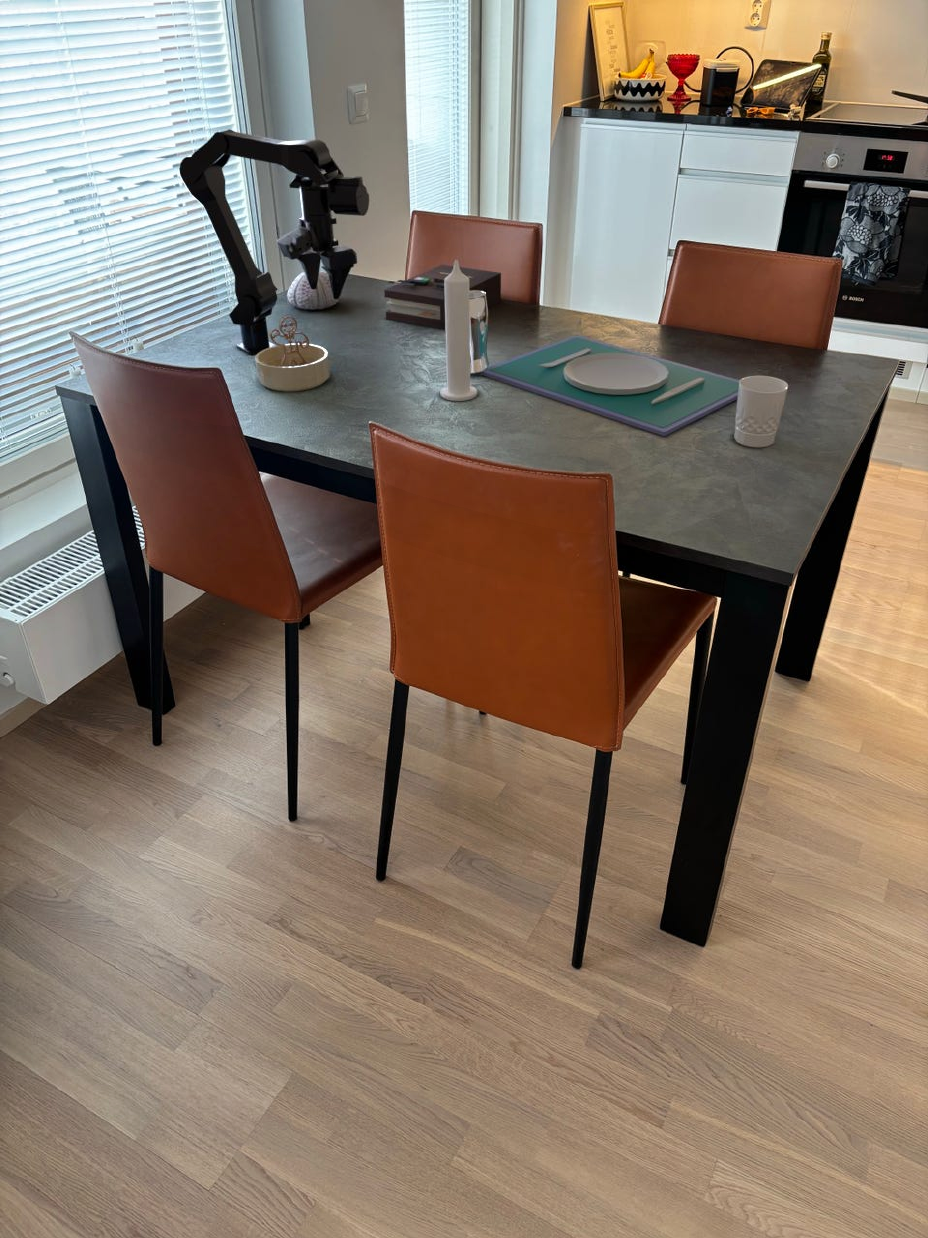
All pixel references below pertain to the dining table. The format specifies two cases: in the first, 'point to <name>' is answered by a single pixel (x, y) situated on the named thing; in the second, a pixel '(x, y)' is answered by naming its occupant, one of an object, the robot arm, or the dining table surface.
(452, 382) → the candle
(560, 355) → the place mat
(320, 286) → the sea urchin shell
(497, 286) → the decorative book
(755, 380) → the white cup
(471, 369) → the beer glass
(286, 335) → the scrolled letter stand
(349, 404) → the dining table surface
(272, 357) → the bowl
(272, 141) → the robot arm
